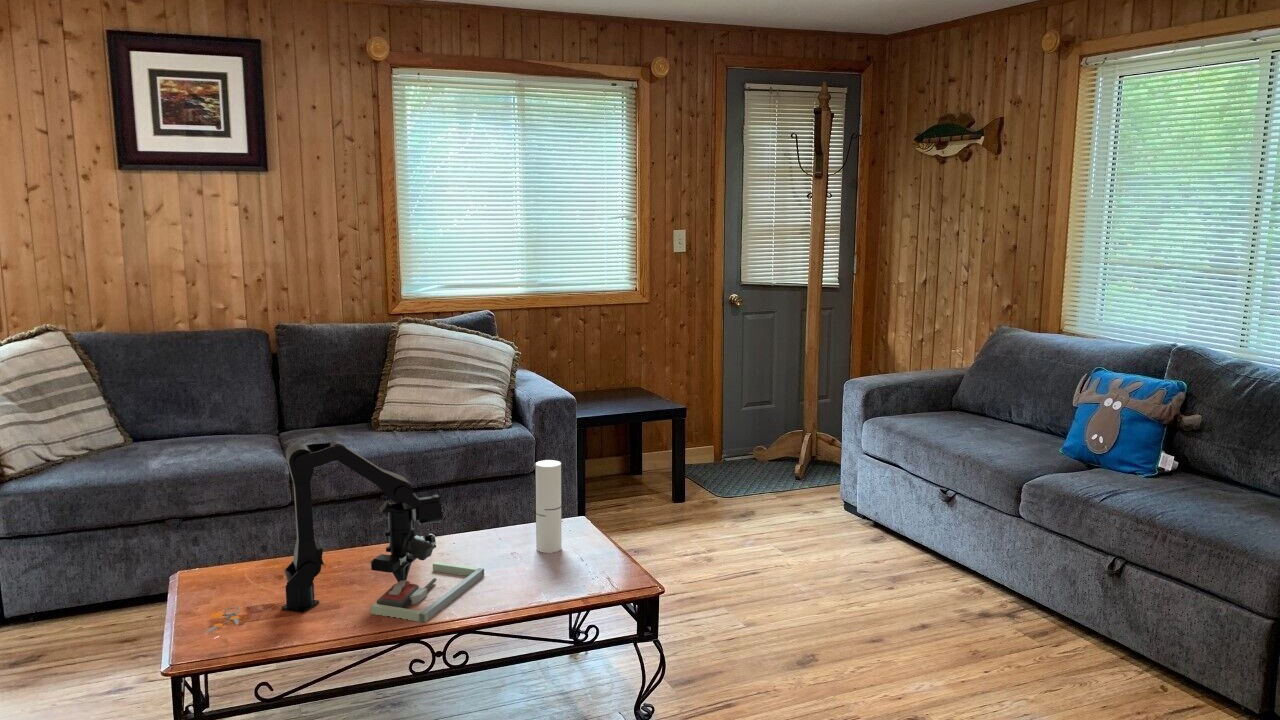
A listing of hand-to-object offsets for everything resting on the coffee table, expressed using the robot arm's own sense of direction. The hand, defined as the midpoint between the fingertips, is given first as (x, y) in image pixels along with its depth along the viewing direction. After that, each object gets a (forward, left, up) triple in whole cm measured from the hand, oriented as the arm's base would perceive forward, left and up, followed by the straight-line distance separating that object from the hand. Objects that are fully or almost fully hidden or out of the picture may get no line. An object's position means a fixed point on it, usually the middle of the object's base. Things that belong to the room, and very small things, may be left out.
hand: (402, 585), depth 243 cm
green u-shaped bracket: (0, -8, -1) cm, 8 cm away
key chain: (-29, +30, -2) cm, 41 cm away
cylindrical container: (+39, -23, -1) cm, 45 cm away
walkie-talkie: (-4, -4, -2) cm, 6 cm away
